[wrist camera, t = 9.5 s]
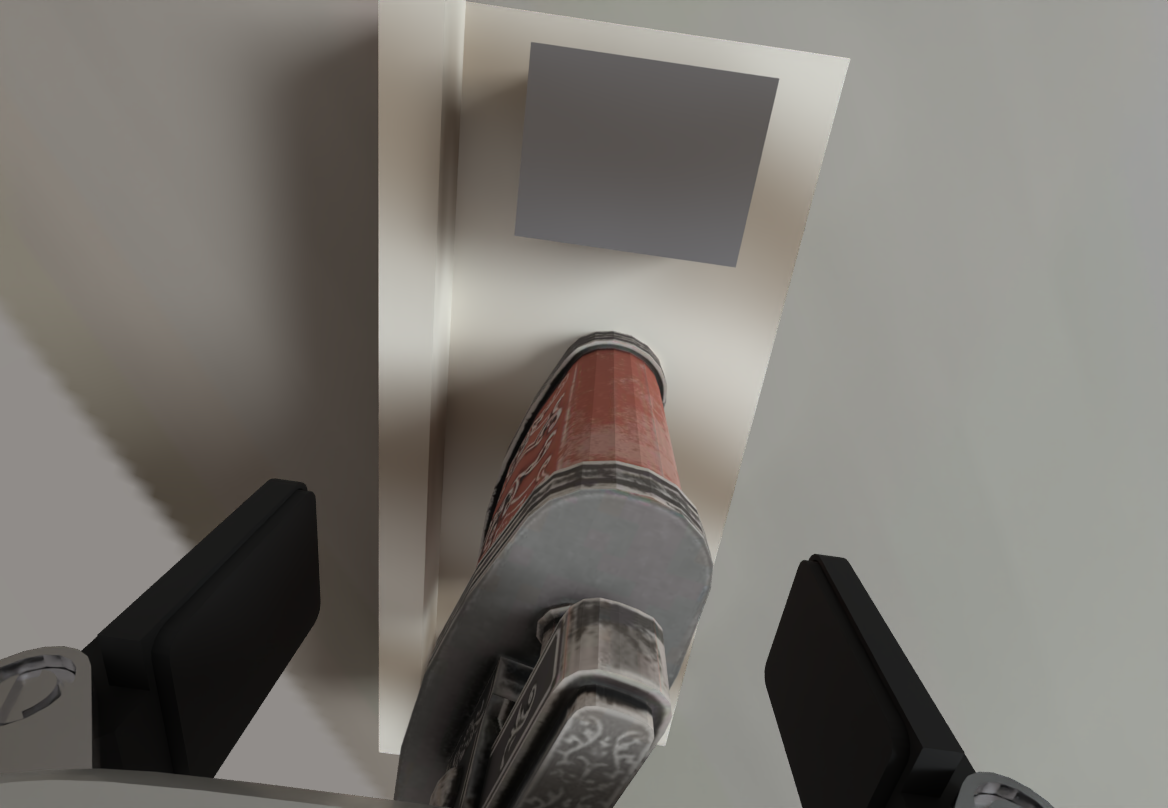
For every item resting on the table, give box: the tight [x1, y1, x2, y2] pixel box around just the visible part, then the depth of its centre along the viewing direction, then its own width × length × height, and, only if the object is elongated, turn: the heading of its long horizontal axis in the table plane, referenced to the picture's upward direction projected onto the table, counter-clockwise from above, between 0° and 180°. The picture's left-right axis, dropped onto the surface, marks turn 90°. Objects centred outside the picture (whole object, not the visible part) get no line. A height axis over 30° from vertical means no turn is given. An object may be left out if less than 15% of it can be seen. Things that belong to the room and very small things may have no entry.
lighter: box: [394, 331, 713, 808], centre depth 11 cm, size 8×3×10 cm, turn 157°
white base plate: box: [378, 0, 850, 755], centre depth 15 cm, size 20×9×4 cm, turn 172°
